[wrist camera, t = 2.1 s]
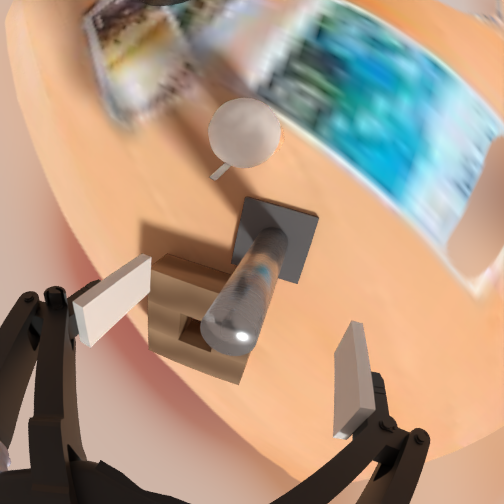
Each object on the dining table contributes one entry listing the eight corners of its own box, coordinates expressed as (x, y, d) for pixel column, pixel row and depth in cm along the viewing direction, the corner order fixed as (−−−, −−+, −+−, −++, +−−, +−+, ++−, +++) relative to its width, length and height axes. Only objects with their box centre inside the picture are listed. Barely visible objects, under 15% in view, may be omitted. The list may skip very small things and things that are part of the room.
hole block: (167, 253, 30) (148, 268, 26) (270, 287, 28) (263, 308, 25) (163, 331, 35) (148, 349, 31) (246, 363, 33) (238, 385, 30)
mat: (246, 196, 25) (245, 197, 25) (318, 217, 24) (318, 218, 24) (232, 262, 28) (231, 263, 28) (297, 282, 27) (297, 283, 27)
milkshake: (230, 156, 24) (179, 163, 15) (255, 105, 22) (216, 81, 13) (273, 177, 24) (246, 197, 15) (300, 126, 22) (289, 111, 13)
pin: (261, 223, 26) (203, 301, 13) (292, 232, 25) (263, 321, 13) (254, 251, 27) (197, 344, 14) (283, 260, 26) (249, 362, 14)
